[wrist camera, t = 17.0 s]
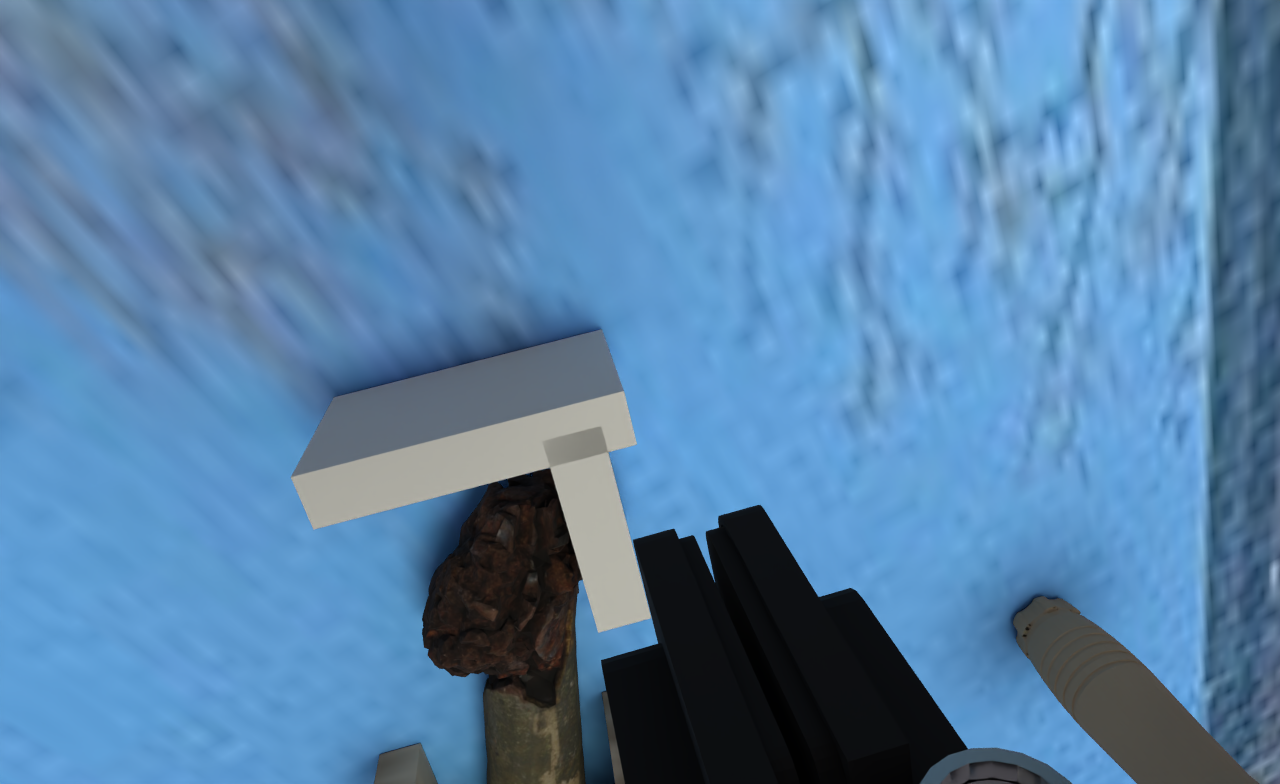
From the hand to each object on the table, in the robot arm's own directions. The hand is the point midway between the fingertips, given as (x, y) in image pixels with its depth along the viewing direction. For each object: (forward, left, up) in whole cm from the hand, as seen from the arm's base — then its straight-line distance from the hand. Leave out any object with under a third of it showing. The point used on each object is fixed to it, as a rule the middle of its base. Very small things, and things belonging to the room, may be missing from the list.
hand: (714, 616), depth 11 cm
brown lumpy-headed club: (-7, -17, -24) cm, 30 cm away
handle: (+18, -24, -24) cm, 39 cm away
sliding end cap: (-5, -8, -24) cm, 25 cm away
